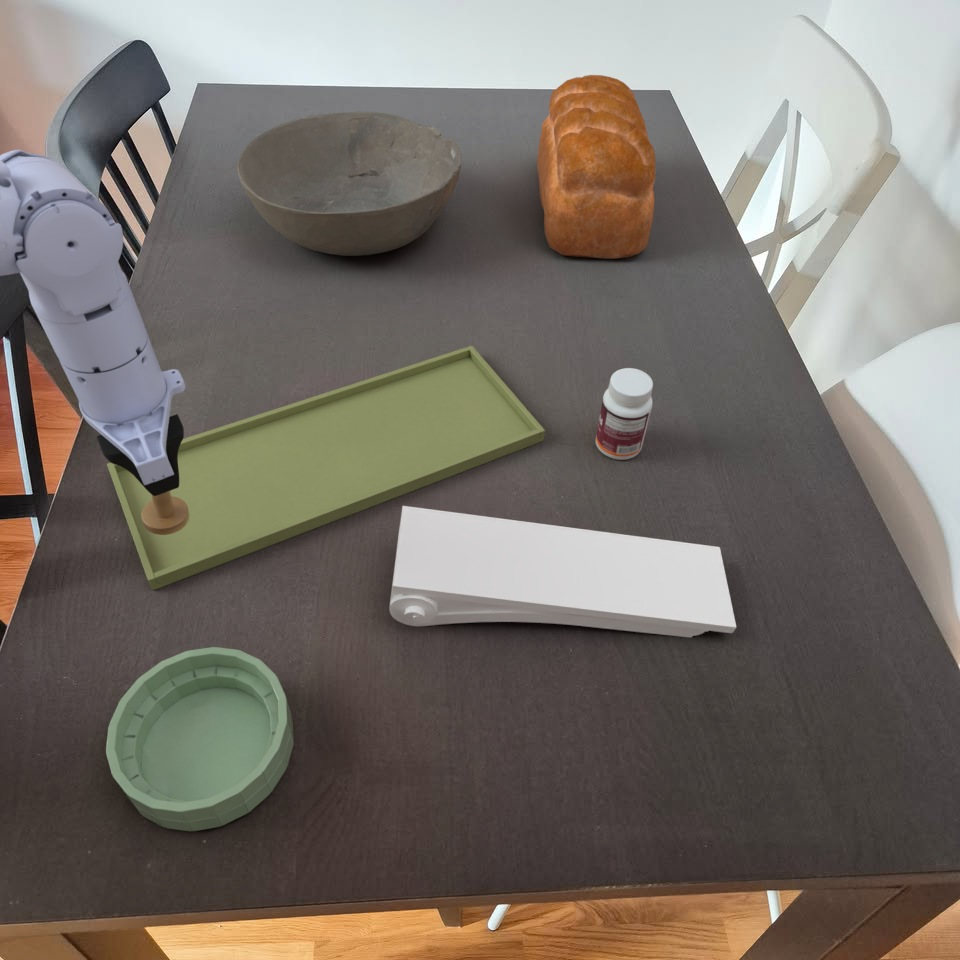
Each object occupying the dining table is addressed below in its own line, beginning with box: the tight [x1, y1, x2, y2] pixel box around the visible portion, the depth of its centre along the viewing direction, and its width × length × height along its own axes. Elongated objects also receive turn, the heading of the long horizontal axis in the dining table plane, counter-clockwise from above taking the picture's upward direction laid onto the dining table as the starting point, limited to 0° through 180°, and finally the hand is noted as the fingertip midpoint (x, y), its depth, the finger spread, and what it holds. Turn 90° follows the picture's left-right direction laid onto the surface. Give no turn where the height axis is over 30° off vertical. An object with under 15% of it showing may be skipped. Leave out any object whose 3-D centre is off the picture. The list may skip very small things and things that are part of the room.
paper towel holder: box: [141, 491, 189, 535], centre depth 65 cm, size 4×4×9 cm
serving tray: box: [106, 345, 546, 591], centre depth 81 cm, size 39×15×2 cm, turn 119°
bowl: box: [236, 111, 462, 257], centre depth 107 cm, size 28×28×10 cm
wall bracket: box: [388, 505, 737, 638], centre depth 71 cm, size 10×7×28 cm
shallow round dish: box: [105, 646, 295, 832], centre depth 60 cm, size 12×12×4 cm
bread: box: [536, 74, 656, 260], centre depth 110 cm, size 14×26×16 cm, turn 0°
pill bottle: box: [595, 367, 654, 461], centre depth 81 cm, size 5×5×8 cm
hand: (162, 480), depth 65 cm, fingers closed on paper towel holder
